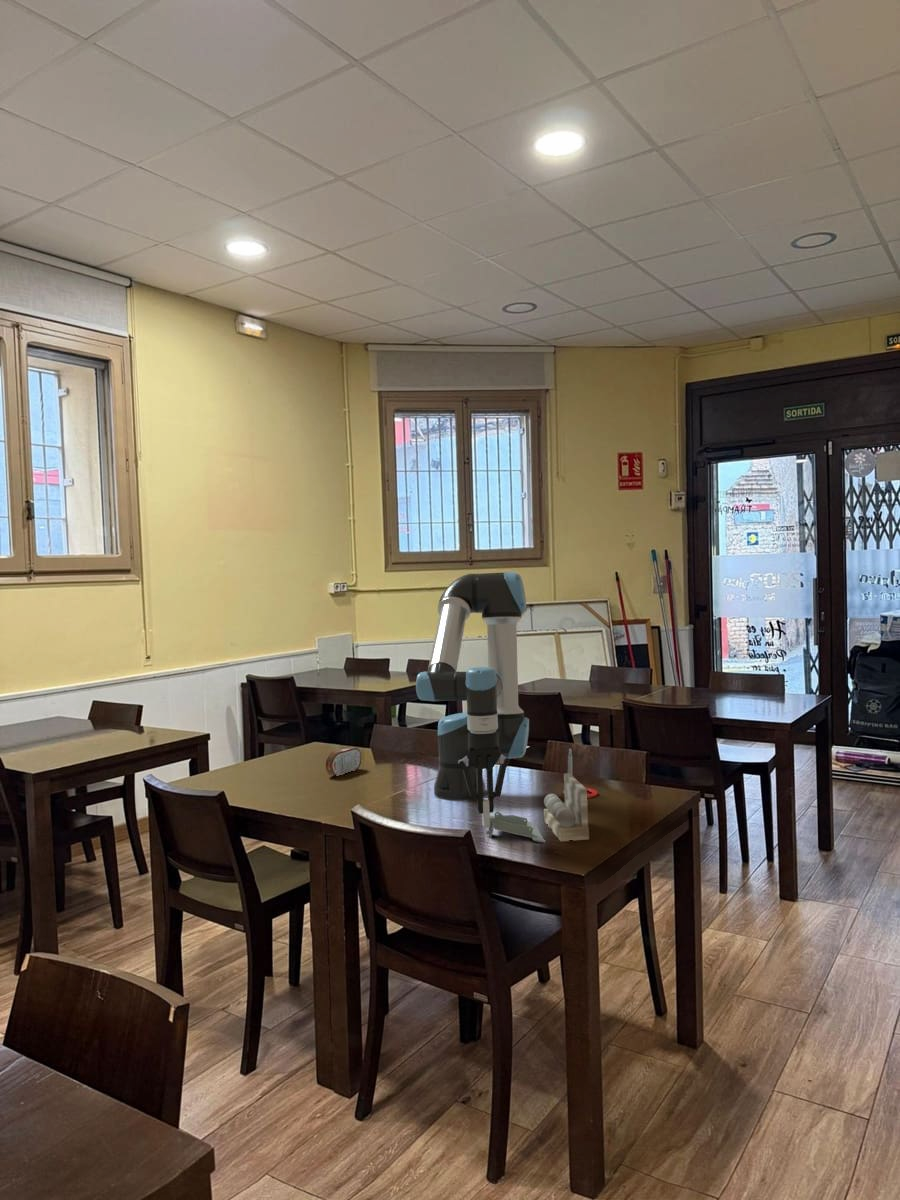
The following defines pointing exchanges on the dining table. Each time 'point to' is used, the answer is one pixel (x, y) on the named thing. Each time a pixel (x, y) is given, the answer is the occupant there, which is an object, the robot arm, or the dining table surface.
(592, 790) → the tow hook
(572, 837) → the hinge seat
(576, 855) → the dining table surface
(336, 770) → the tin
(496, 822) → the metal bracket
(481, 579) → the robot arm
